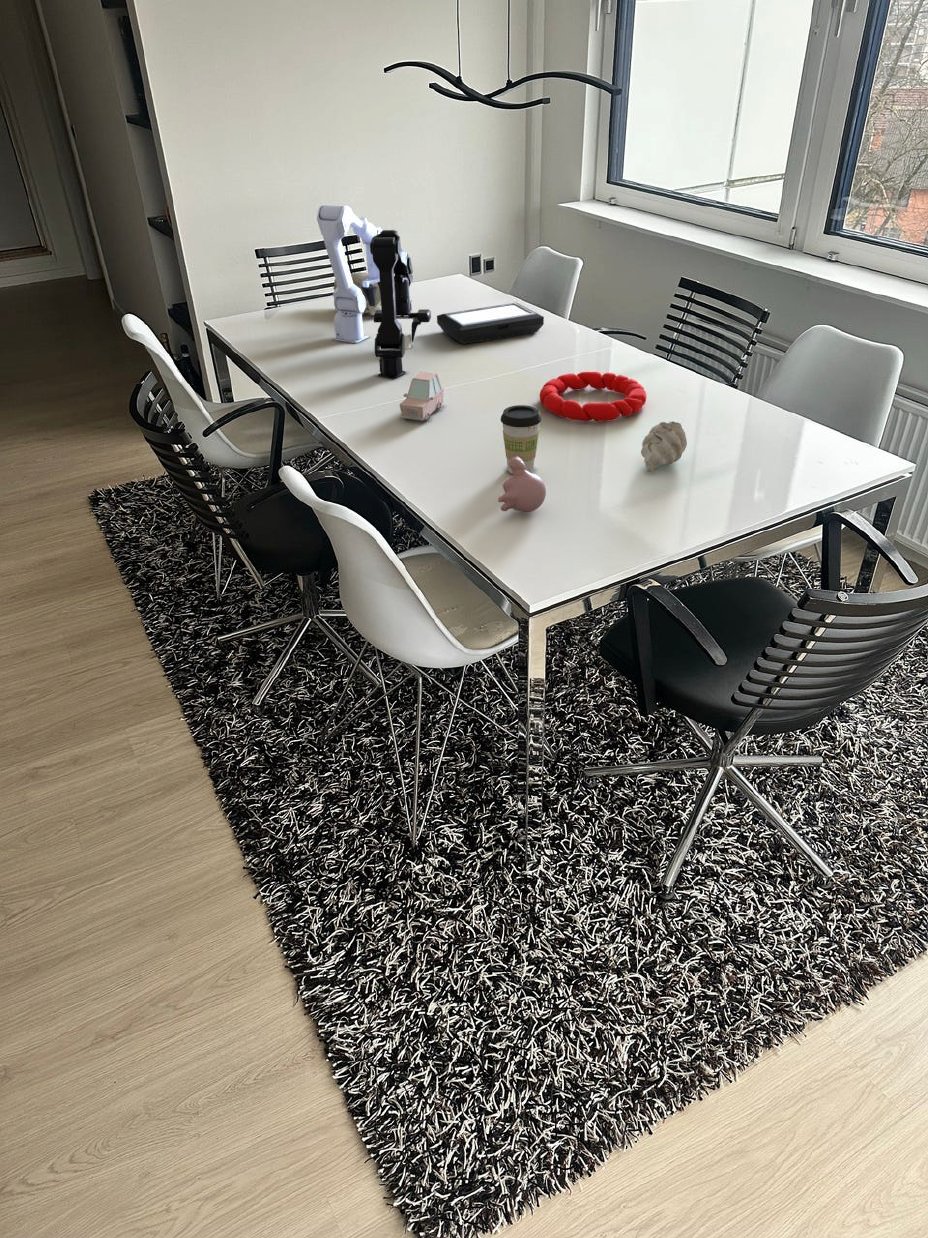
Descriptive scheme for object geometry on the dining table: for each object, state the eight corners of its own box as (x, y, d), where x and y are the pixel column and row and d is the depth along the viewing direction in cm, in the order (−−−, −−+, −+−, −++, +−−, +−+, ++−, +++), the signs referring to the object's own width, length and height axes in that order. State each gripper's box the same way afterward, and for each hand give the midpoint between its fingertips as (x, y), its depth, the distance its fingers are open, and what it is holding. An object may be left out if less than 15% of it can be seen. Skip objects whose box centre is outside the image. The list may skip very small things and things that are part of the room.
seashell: (697, 464, 220) (702, 426, 214) (648, 478, 214) (652, 439, 208) (671, 449, 227) (675, 412, 222) (623, 462, 222) (626, 424, 216)
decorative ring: (525, 401, 245) (634, 402, 234) (555, 365, 268) (655, 365, 258) (527, 426, 249) (634, 428, 238) (556, 389, 272) (655, 390, 261)
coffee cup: (511, 481, 215) (511, 422, 206) (494, 465, 222) (493, 408, 214) (547, 473, 218) (549, 414, 209) (529, 458, 225) (530, 401, 217)
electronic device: (459, 327, 297) (436, 313, 313) (460, 346, 301) (437, 331, 316) (543, 314, 308) (517, 300, 323) (543, 332, 311) (517, 318, 326)
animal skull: (363, 342, 338) (386, 304, 323) (318, 293, 338) (340, 252, 323) (389, 330, 349) (414, 293, 335) (347, 283, 350) (369, 244, 335)
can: (394, 347, 303) (393, 334, 301) (405, 344, 306) (404, 331, 303) (403, 350, 300) (402, 337, 298) (414, 346, 303) (413, 334, 300)
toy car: (396, 421, 248) (393, 386, 242) (418, 402, 260) (416, 368, 254) (427, 425, 245) (425, 390, 239) (448, 405, 257) (447, 371, 251)
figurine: (490, 509, 203) (489, 460, 196) (532, 497, 207) (532, 449, 201) (510, 525, 197) (510, 475, 190) (552, 512, 201) (554, 463, 194)
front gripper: (431, 287, 299) (433, 334, 308) (376, 287, 300) (380, 334, 309) (427, 296, 290) (430, 344, 298) (371, 296, 291) (375, 344, 300)
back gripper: (372, 269, 307) (376, 309, 315) (395, 260, 317) (398, 299, 325) (356, 267, 310) (359, 307, 318) (379, 258, 320) (382, 297, 328)
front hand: (403, 341), depth 302 cm, fingers open, 6 cm apart
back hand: (378, 303), depth 322 cm, fingers open, 7 cm apart
